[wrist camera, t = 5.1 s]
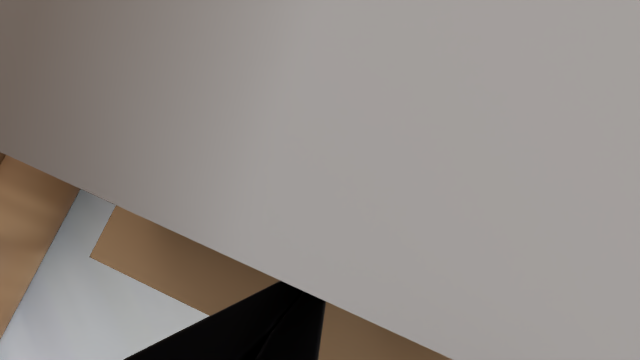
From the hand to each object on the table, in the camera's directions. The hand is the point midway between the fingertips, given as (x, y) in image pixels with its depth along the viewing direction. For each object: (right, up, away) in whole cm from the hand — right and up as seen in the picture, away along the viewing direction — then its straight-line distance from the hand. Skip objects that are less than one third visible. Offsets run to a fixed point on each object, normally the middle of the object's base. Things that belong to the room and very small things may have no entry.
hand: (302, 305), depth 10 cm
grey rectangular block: (+2, +2, +3) cm, 4 cm away
